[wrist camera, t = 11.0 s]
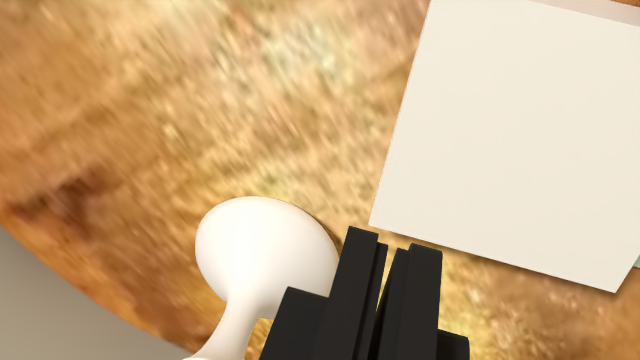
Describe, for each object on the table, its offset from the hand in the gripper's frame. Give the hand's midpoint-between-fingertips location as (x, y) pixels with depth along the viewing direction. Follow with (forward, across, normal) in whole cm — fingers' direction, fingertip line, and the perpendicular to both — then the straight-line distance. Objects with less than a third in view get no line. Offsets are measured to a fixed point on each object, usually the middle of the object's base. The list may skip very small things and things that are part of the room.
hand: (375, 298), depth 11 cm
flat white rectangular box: (+27, -8, +8) cm, 29 cm away
